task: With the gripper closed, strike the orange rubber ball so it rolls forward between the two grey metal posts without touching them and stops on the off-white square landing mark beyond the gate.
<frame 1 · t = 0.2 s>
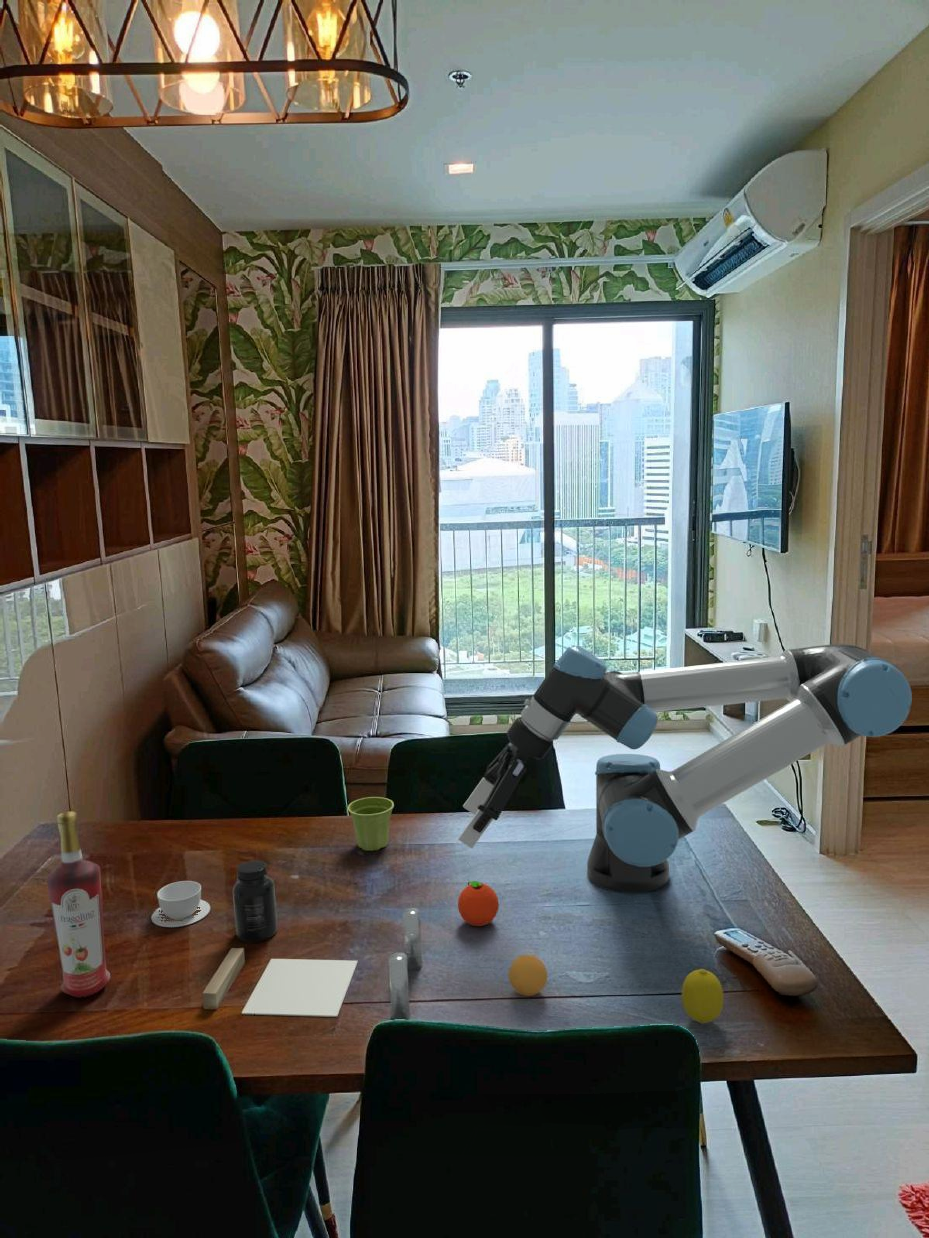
hand: (467, 826, 150), 15 cm above the table, tool tilted 35°, fingers open, 13 cm apart
liquor: (86, 990, 133), on the table
post 2: (413, 965, 136), on the table
teacup: (181, 915, 155), on the table
clementine: (477, 922, 149), on the table
supplement bottle: (257, 933, 147), on the table
plant pot: (372, 845, 180), on the table
ball: (527, 975, 128), on the table
landing mark: (302, 986, 131), on the table
post 1: (400, 1015, 124), on the table
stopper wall: (225, 984, 132), on the table
lemon: (701, 1024, 120), on the table
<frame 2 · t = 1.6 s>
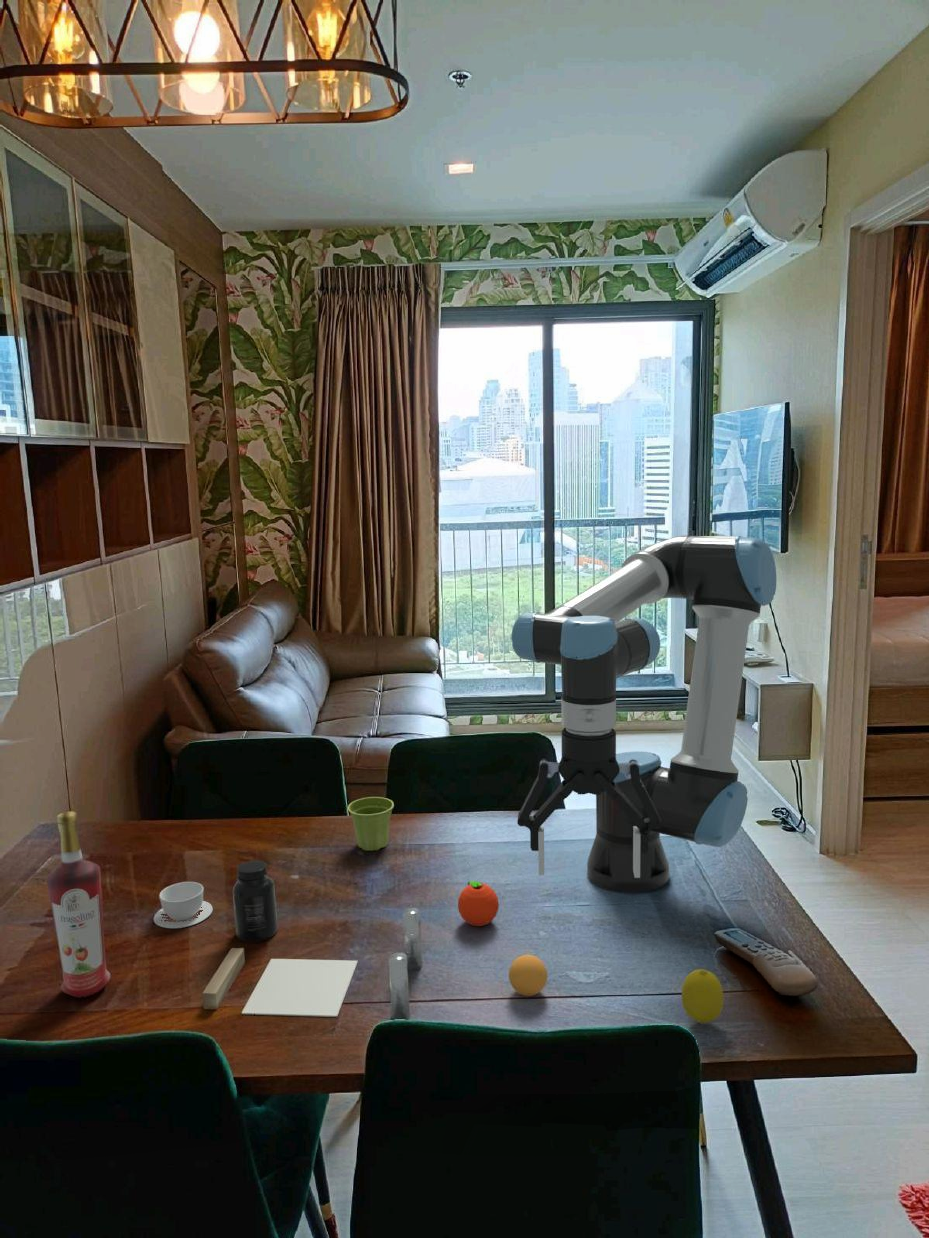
hand: (588, 872, 124), 19 cm above the table, tool pointing down, fingers open, 13 cm apart
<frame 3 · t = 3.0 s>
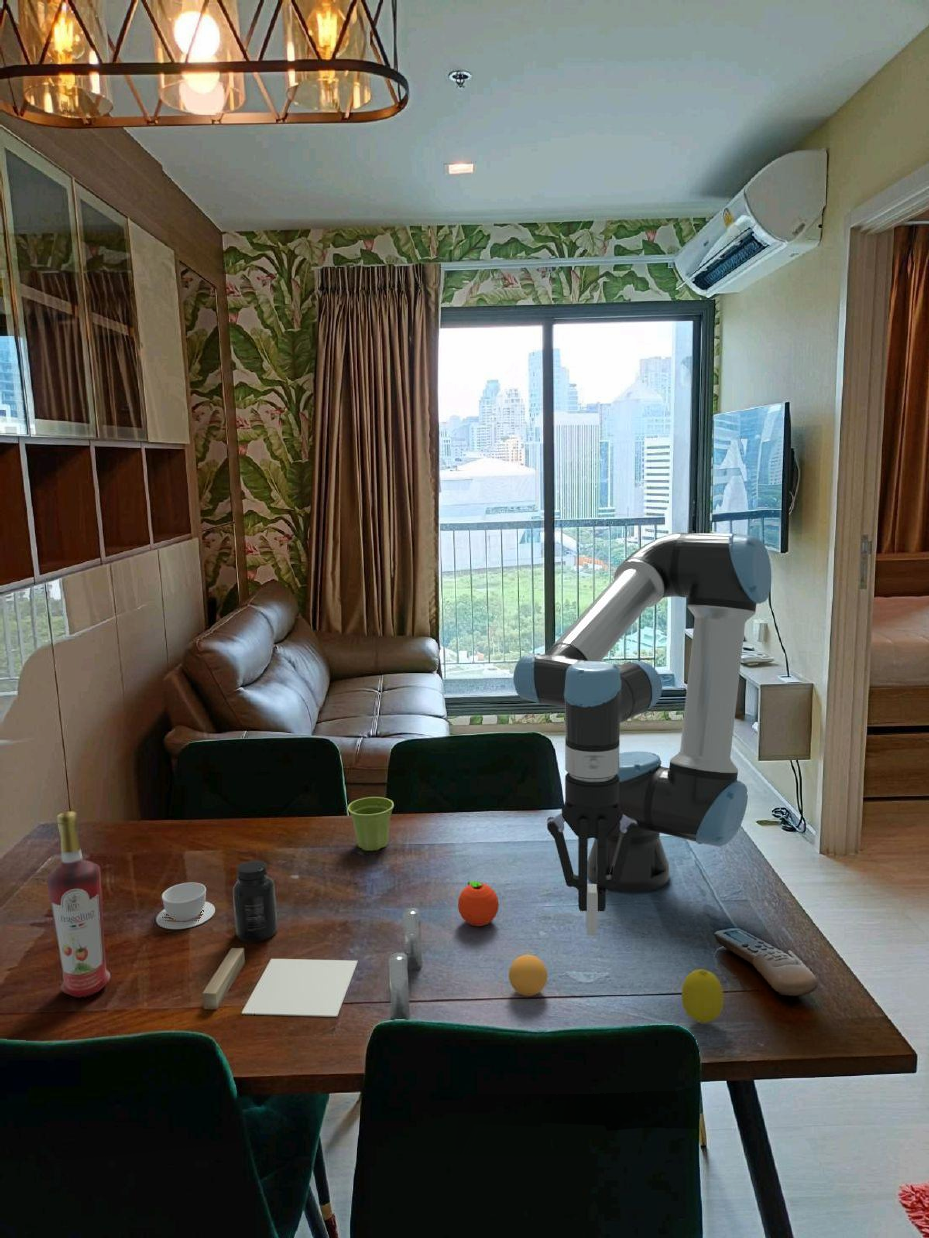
hand: (591, 930, 125), 10 cm above the table, tool pointing down, fingers closed
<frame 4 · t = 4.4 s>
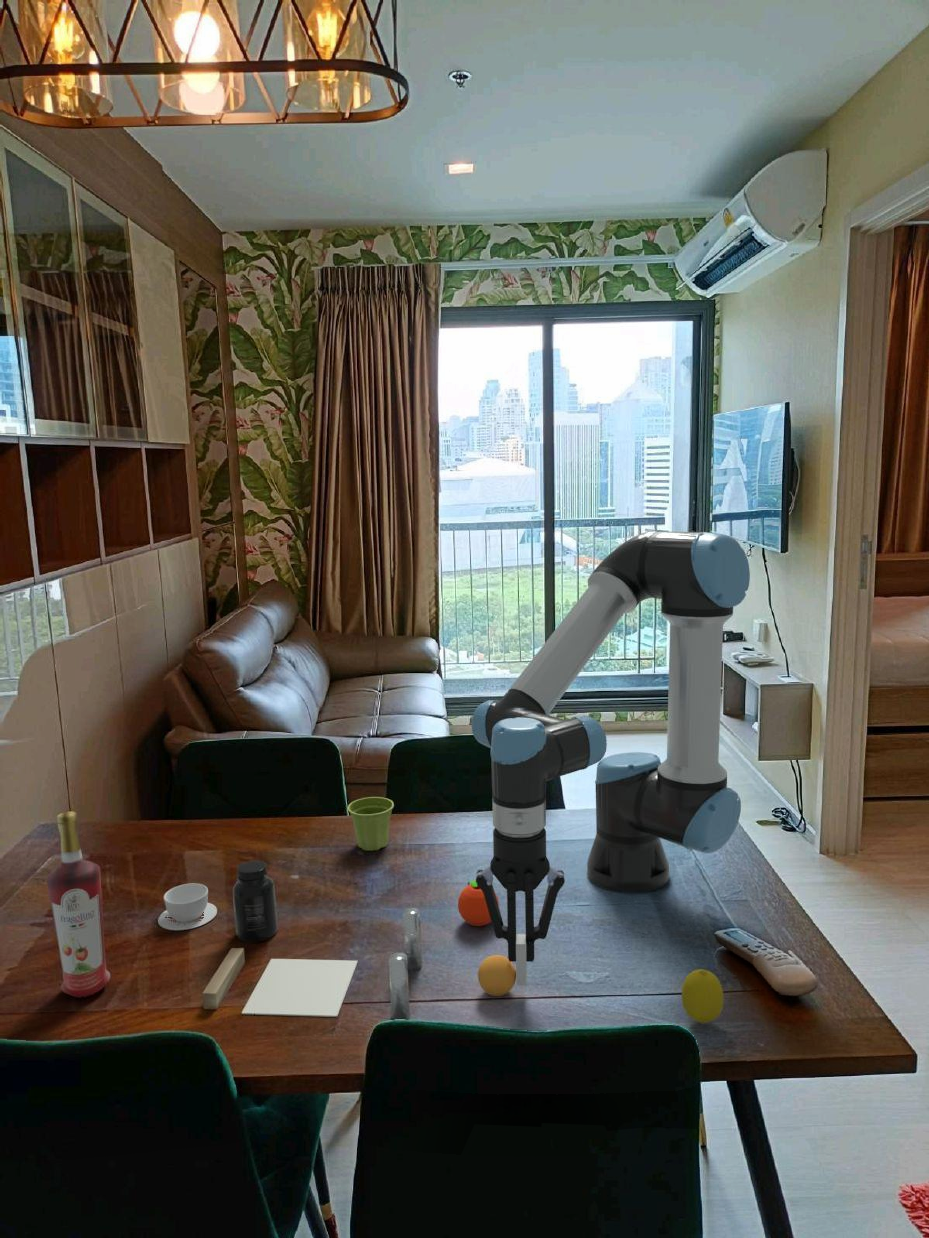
hand: (521, 979, 127), 2 cm above the table, tool pointing down, fingers closed
ball: (497, 975, 128), on the table
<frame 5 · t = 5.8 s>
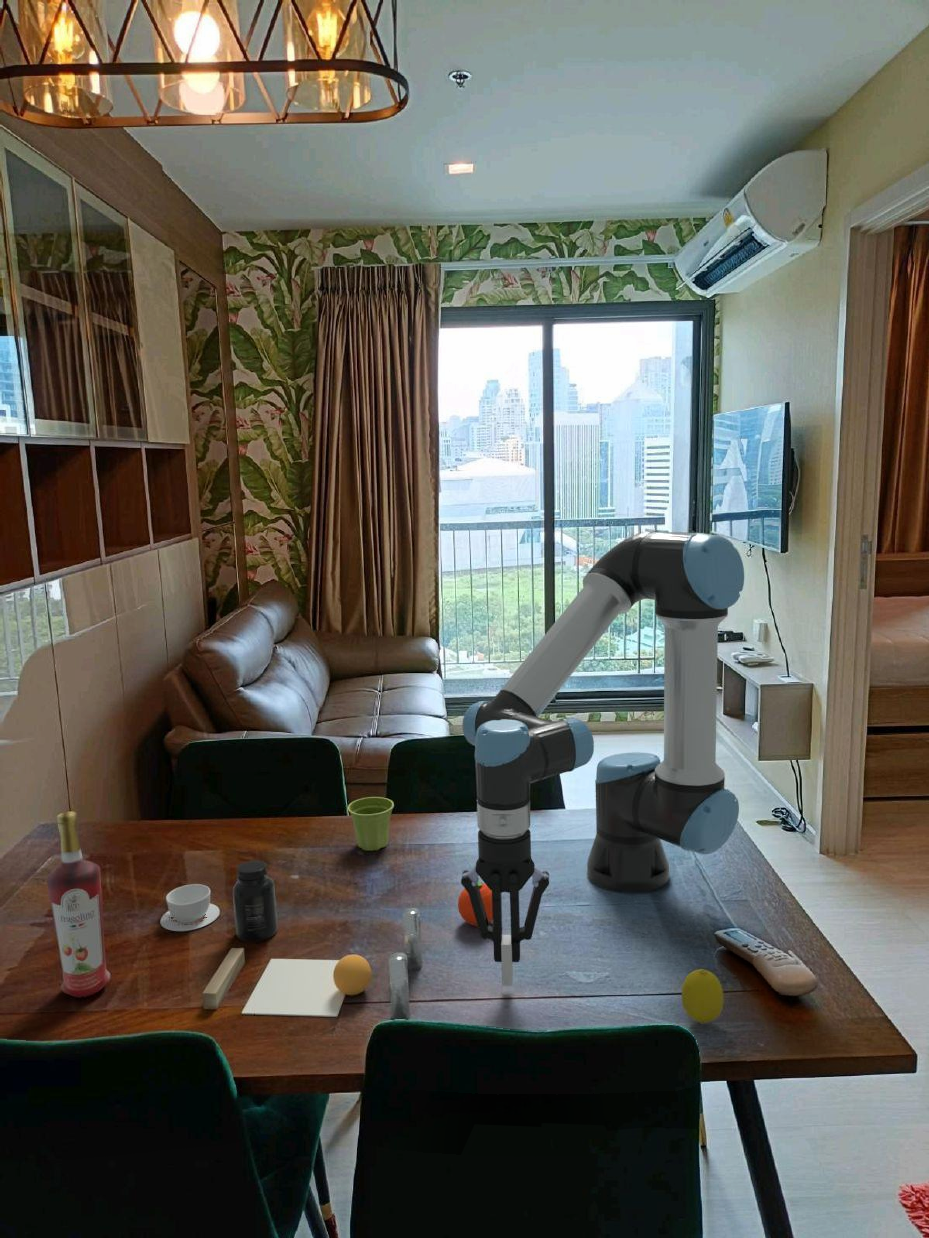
hand: (507, 980, 128), 2 cm above the table, tool pointing down, fingers closed
ball: (352, 974, 129), on the table
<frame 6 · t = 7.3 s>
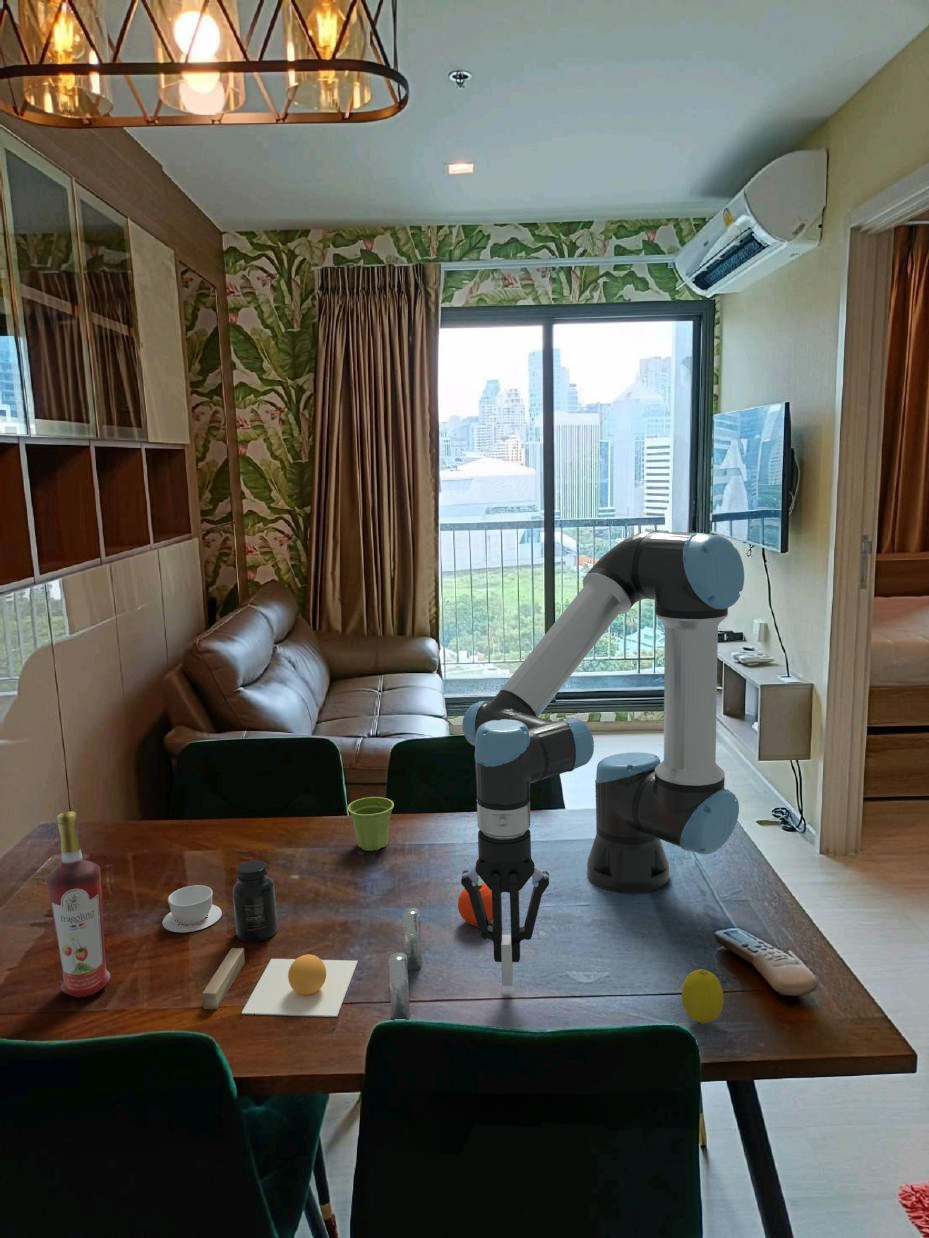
hand: (507, 980, 128), 2 cm above the table, tool pointing down, fingers closed
ball: (307, 974, 130), on the table
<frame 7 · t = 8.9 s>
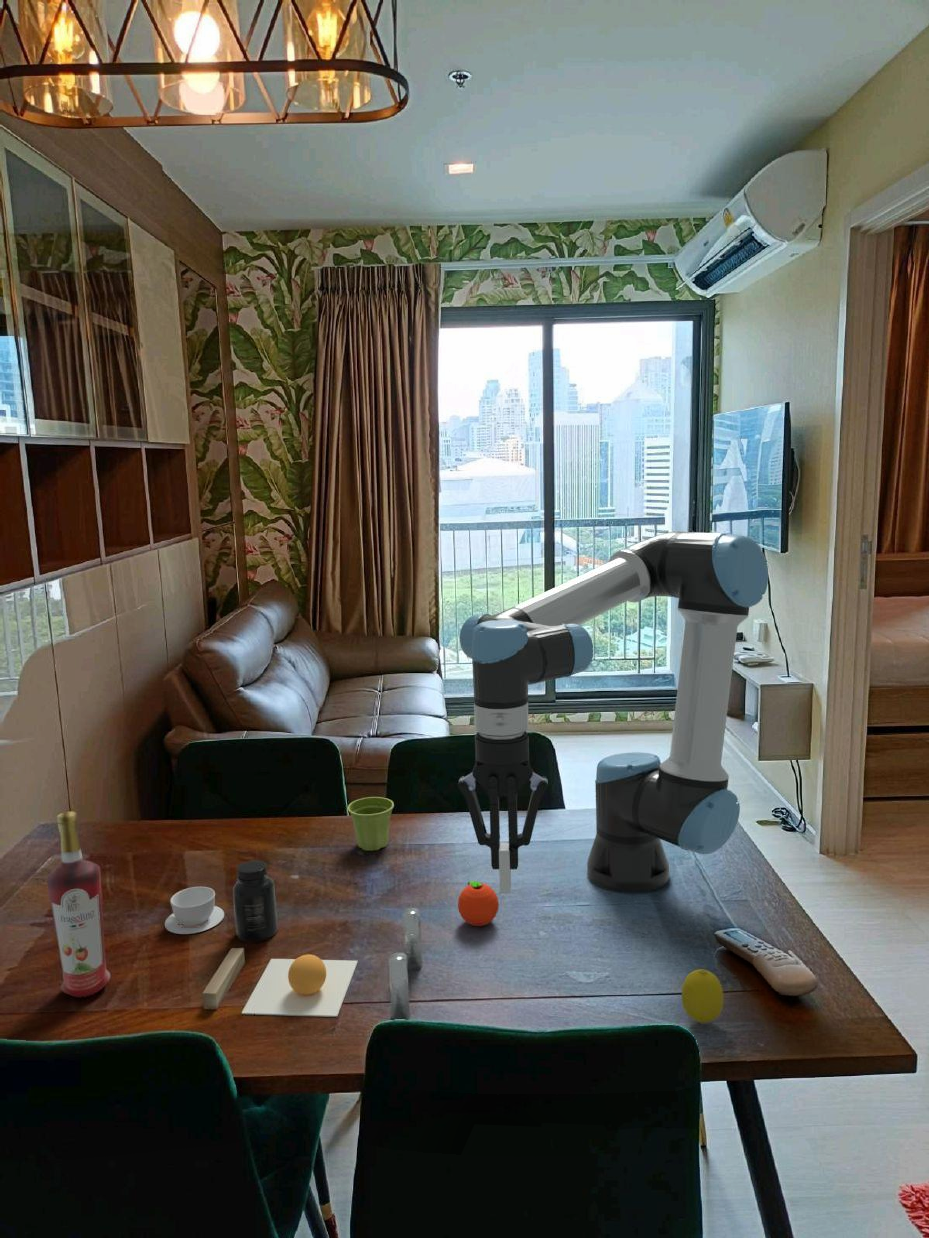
hand: (505, 888, 126), 16 cm above the table, tool pointing down, fingers closed
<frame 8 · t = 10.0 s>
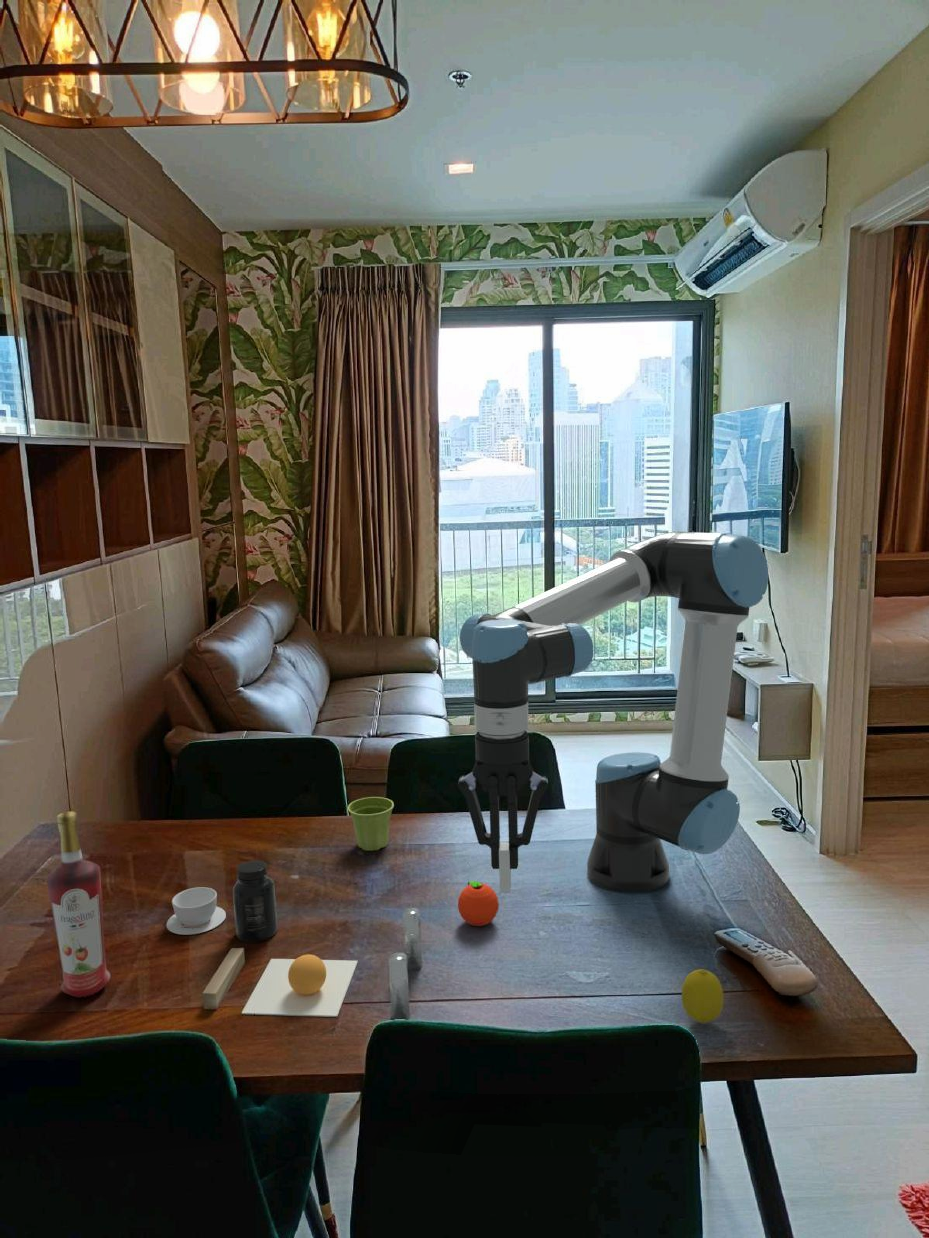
hand: (505, 888, 126), 16 cm above the table, tool pointing down, fingers closed
at the end: ball 1.7 cm from the landing mark (horizontally); ball never touched post 1; ball never touched post 2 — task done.
